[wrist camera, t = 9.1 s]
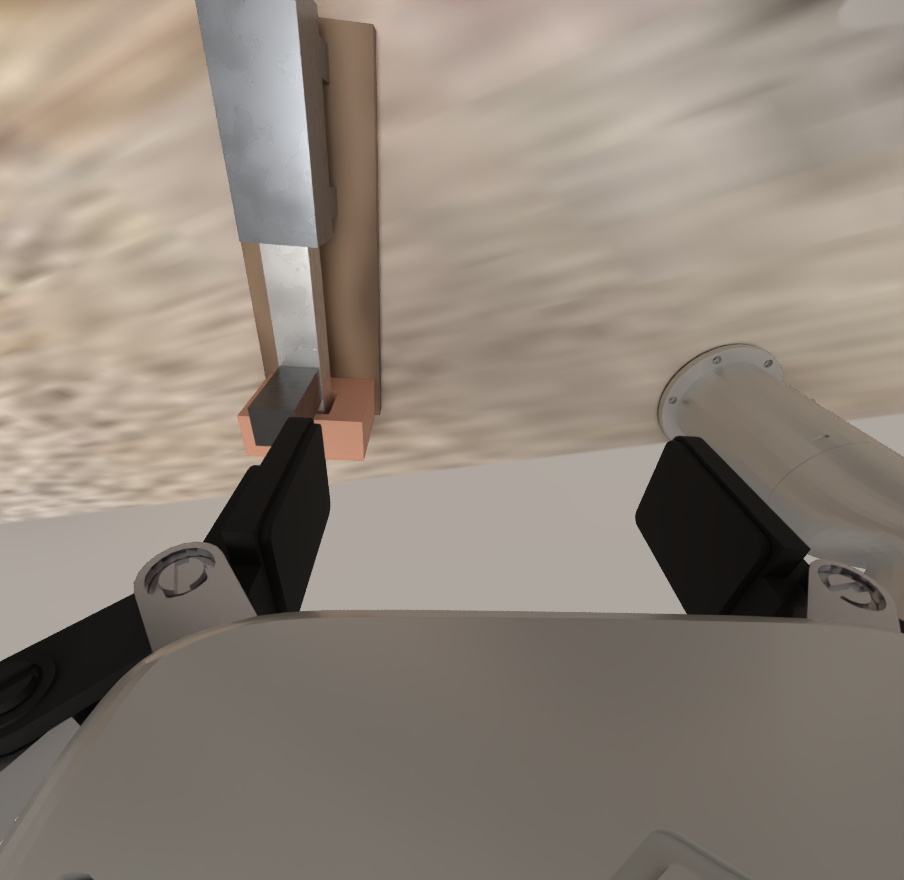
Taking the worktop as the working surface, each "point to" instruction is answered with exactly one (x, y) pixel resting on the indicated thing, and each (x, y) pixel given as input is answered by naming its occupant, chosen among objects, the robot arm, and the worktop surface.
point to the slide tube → (293, 342)
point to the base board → (342, 215)
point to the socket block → (331, 421)
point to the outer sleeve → (271, 116)
